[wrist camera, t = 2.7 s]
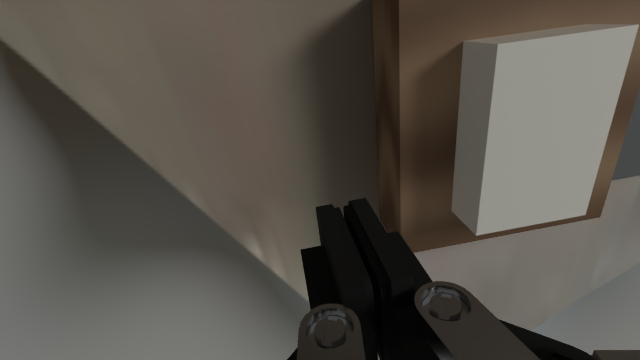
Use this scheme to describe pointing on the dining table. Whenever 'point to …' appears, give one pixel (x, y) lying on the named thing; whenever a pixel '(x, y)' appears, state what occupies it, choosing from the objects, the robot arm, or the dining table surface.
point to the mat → (630, 147)
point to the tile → (535, 123)
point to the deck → (443, 102)
